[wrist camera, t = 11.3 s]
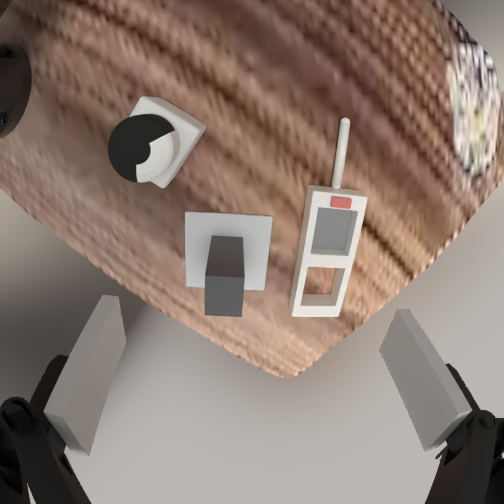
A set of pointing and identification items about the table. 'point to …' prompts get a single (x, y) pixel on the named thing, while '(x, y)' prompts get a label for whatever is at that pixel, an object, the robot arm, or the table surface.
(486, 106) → the table surface
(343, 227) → the power strip
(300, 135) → the table surface
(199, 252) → the mat
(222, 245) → the block
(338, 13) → the table surface
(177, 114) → the medicine bottle
